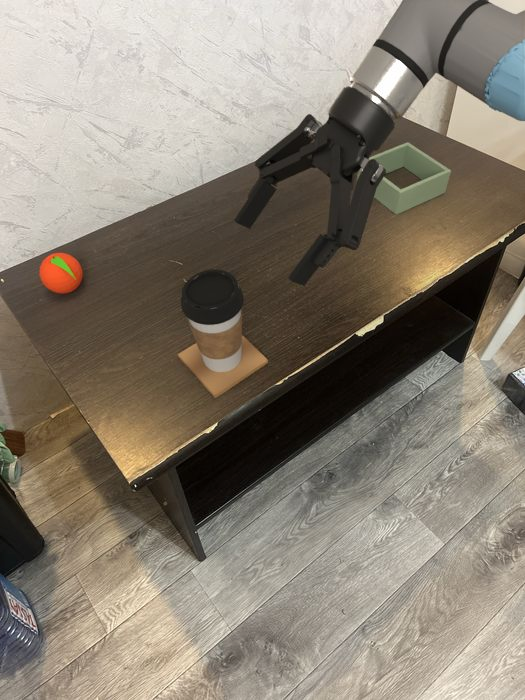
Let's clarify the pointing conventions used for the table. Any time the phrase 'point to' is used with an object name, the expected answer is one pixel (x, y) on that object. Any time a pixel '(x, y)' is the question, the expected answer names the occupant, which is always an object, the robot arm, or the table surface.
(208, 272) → the coffee cup
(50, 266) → the clementine
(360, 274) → the table surface
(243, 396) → the table surface
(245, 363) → the trivet
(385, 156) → the holder
